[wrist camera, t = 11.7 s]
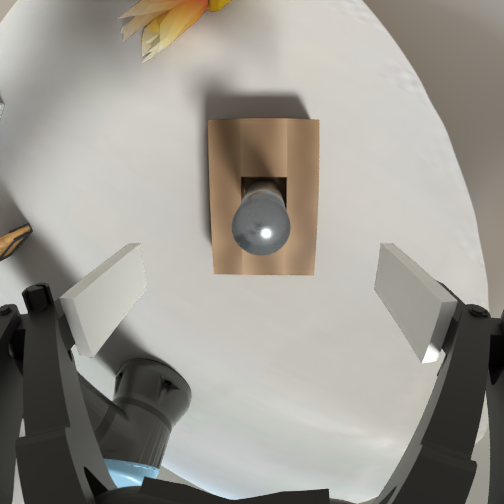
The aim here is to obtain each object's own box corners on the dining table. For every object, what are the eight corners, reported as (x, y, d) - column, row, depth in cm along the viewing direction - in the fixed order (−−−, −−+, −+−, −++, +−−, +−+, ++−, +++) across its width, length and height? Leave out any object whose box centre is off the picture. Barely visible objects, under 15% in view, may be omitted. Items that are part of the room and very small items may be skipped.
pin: (247, 211, 35) (232, 255, 20) (247, 178, 34) (230, 198, 19) (280, 211, 35) (289, 255, 20) (280, 178, 34) (291, 198, 19)
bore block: (220, 259, 40) (213, 274, 35) (216, 124, 33) (208, 120, 29) (308, 260, 39) (313, 275, 34) (312, 124, 33) (319, 119, 28)
